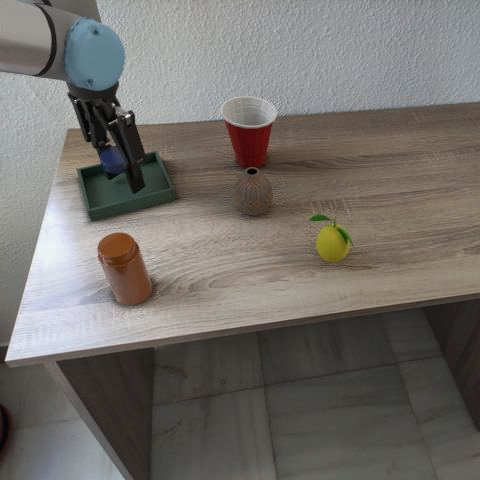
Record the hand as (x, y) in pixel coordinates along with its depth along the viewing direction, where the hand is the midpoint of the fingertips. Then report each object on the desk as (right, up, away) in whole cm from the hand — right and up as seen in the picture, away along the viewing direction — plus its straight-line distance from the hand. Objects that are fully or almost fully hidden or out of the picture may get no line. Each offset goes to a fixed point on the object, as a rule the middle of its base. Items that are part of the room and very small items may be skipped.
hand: (126, 182), depth 88 cm
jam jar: (+8, -19, -15) cm, 25 cm away
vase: (+25, -5, -1) cm, 25 cm away
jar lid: (0, +4, -4) cm, 6 cm away
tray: (0, -1, +1) cm, 1 cm away
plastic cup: (+23, +6, +9) cm, 25 cm away
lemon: (+38, -14, -9) cm, 42 cm away
